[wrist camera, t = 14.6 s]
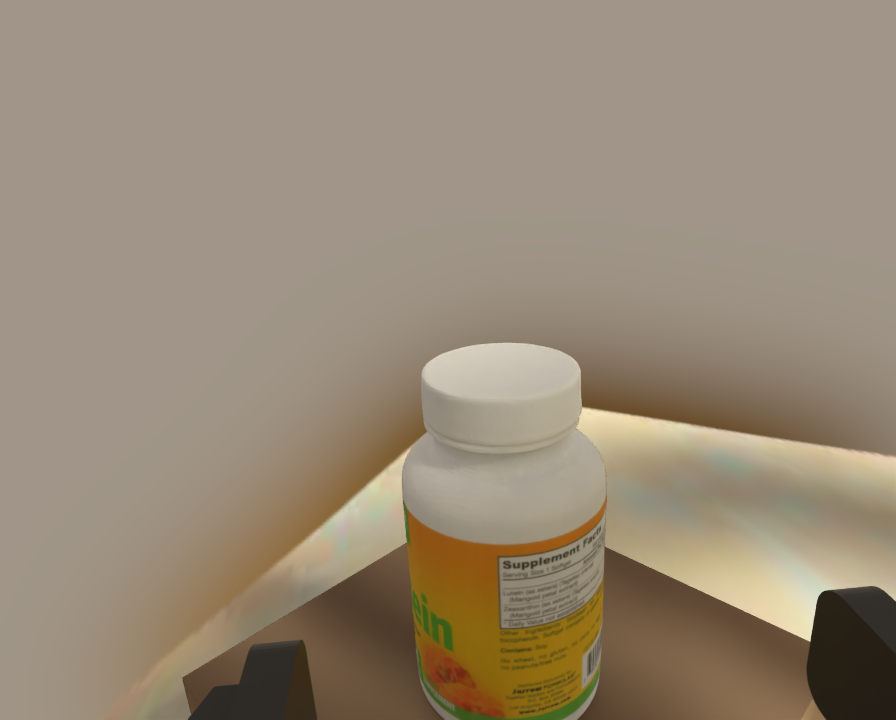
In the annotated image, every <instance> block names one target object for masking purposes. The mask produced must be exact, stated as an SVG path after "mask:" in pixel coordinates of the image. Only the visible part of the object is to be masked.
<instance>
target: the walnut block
mask: <svg viewBox="0 0 896 720" xmlns="http://www.w3.org/2000/svg"><path fill="white" fill-rule="evenodd" d="M293 640H303V641H304V644H305V647H306V652H307V659H308V665H309V671H310V677H311V683H312V689H313V696H314V702H315V708H316V714H317V720H445V719H444V718H442V717H441V716H440V715H439V714H438V713H437V711H436V710H435V709H434V708H433V707H432V705H431V704H430V702H429V701H428V699H427V697H426V695H425V693H424V691H423V688H422V685H421V682H420V677H419V671H418V662H417V654H416V642H415V630H414V617H413V607H412V593H411V582H410V570H409V559H408V550H407V543H405V544H404V545H402V546H400V547H399V548H397V549H395V550H394V551H392V552H390V553H389V554H387V555H386V556H384V557H382V558H381V559H379V560H377V561H376V562H374V563H372V564H371V565H369V566H367V567H366V568H364V569H362V570H361V571H359V572H357V573H356V574H354V575H352V576H351V577H349V578H347V579H346V580H344V581H342V582H341V583H339V584H337V585H336V586H334V587H332V588H331V589H329V590H327V591H326V592H324V593H322V594H321V595H319V596H317V597H316V598H314V599H312V600H311V601H309V602H307V603H306V604H304V605H302V606H301V607H299V608H297V609H296V610H294V611H292V612H291V613H289V614H287V615H286V616H284V617H282V618H281V619H279V620H278V621H276V622H274V623H273V624H271V625H269V626H268V627H266V628H264V629H263V630H261V631H259V632H258V633H256V634H254V635H253V636H251V637H249V638H248V639H246V640H244V641H243V642H241V643H239V644H238V645H236V646H234V647H233V648H231V649H229V650H228V651H226V652H224V653H223V654H221V655H219V656H218V657H216V658H214V659H213V660H211V661H209V662H208V663H206V664H204V665H203V666H201V667H199V668H198V669H196V670H194V671H193V672H191V673H189V674H188V675H186V676H184V677H183V678H182V679H183V683H184V687H185V691H186V695H187V699H188V703H189V707H190V711H191V715H192V713H193V712H194V711H195V710H196V708H197V707H198V706H199V705H200V703H201V702H202V701H203V700H204V698H205V697H206V696H207V695H208V693H209V692H210V691H211V690H212V688H213V687H215V686H225V685H235V684H239V682H240V679H241V675H242V672H243V668H244V665H245V662H246V658H247V655H248V652H249V649H250V647H251V646H252V645H253V644H262V643H272V642H282V641H293ZM809 647H810V642H809V641H807V640H805V639H803V638H800V637H798V636H796V635H794V634H792V633H790V632H787V631H785V630H783V629H781V628H779V627H777V626H775V625H772V624H770V623H768V622H766V621H764V620H762V619H759V618H757V617H755V616H753V615H751V614H749V613H746V612H744V611H742V610H740V609H738V608H736V607H734V606H731V605H729V604H727V603H725V602H723V601H721V600H718V599H716V598H714V597H712V596H710V595H708V594H706V593H703V592H701V591H699V590H697V589H695V588H693V587H690V586H688V585H686V584H684V583H682V582H680V581H677V580H675V579H673V578H671V577H669V576H667V575H665V574H662V573H660V572H658V571H656V570H654V569H652V568H649V567H647V566H645V565H643V564H641V563H639V562H636V561H634V560H632V559H630V558H628V557H626V556H624V555H621V554H619V553H617V552H615V551H613V550H611V549H608V548H606V547H605V549H604V582H603V615H602V647H601V666H600V675H599V682H598V686H597V690H596V693H595V695H594V697H593V699H592V701H591V703H590V705H589V706H588V708H587V709H586V710H585V712H584V713H583V714H582V715H581V716H580V717H579V718H578V719H577V720H826V719H825V718H824V716H823V715H822V714H821V712H820V711H819V709H818V707H817V705H816V704H815V702H814V699H813V697H812V695H811V692H810V689H809V685H808V681H807V673H806V667H807V660H808V654H809Z"/></svg>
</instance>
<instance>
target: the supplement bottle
mask: <svg viewBox="0 0 896 720" xmlns="http://www.w3.org/2000/svg"><path fill="white" fill-rule="evenodd" d="M421 391H422V408H423V416H424V425H425V428H426V430H427V431H428V432H427V433H426V434H425V435H423V436H422V437H421V438H420V439H419V440H418V441H417V442H416V443H415V444H414V446H413V447H412V448H411V450H410V452H409V453H408V455H407V457H406V459H405V462H404V466H403V471H402V493H403V505H404V516H405V526H406V538H407V550H408V559H409V570H410V582H411V593H412V607H413V617H414V630H415V642H416V654H417V662H418V671H419V677H420V682H421V685H422V688H423V691H424V693H425V695H426V697H427V699H428V701H429V702H430V704H431V705H432V707H433V708H434V709H435V710H436V711H437V713H438V714H439V715H440V716H441V717H442V718H444V719H445V720H577V719H578V718H579V717H580V716H581V715H582V714H583V713H584V712H585V710H586V709H587V708H588V706H589V705H590V703H591V701H592V699H593V697H594V695H595V693H596V690H597V686H598V682H599V675H600V666H601V647H602V615H603V582H604V549H605V523H606V472H605V466H604V463H603V460H602V457H601V455H600V453H599V451H598V450H597V448H596V447H595V446H594V444H593V443H592V442H591V441H590V440H589V439H588V438H587V437H586V436H585V435H584V434H583V433H582V432H580V431H579V430H577V429H576V427H577V425H578V422H579V416H580V414H581V410H582V404H581V371H580V368H579V365H578V363H577V362H576V361H575V360H574V359H573V358H572V357H570V356H569V355H567V354H565V353H563V352H561V351H558V350H555V349H552V348H548V347H543V346H537V345H532V344H521V343H491V344H481V345H473V346H468V347H463V348H460V349H456V350H452V351H449V352H446V353H444V354H441V355H439V356H437V357H435V358H434V359H432V360H431V361H429V362H428V363H427V364H426V365H425V367H424V368H423V370H422V374H421Z"/></svg>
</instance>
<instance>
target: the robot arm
mask: <svg viewBox="0 0 896 720" xmlns="http://www.w3.org/2000/svg"><path fill="white" fill-rule="evenodd" d="M806 673H807V681H808V685H809V689H810V692H811V695H812V697H813V699H814V702H815V704H816V705H817V707H818V709H819V711H820V712H821V714H822V715H823V716H824V718H825V719H826V720H896V601H895V600H894V599H892V598H891V597H890V596H889V595H888V594H887V593H886V592H885V591H883V590H882V589H880V588H878V587H874V586H868V587H858V588H847V589H837V590H827V591H824V592H822V593H821V594H820V595H819V597H818V600H817V605H816V611H815V617H814V623H813V629H812V635H811V641H810V647H809V654H808V660H807V667H806ZM188 720H317V714H316V708H315V702H314V696H313V689H312V683H311V677H310V671H309V665H308V659H307V652H306V647H305V644H304V641H303V640H293V641H282V642H272V643H262V644H253V645H252V646H251V647H250V649H249V652H248V655H247V658H246V662H245V665H244V668H243V672H242V675H241V679H240V682H239V684H235V685H225V686H215V687H213V688H212V690H211V691H210V692H209V693H208V695H207V696H206V697H205V698H204V700H203V701H202V702H201V703H200V705H199V706H198V707H197V708H196V710H195V711H194V712H193V713H192V715H191V716H190V717H189V719H188Z"/></svg>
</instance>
